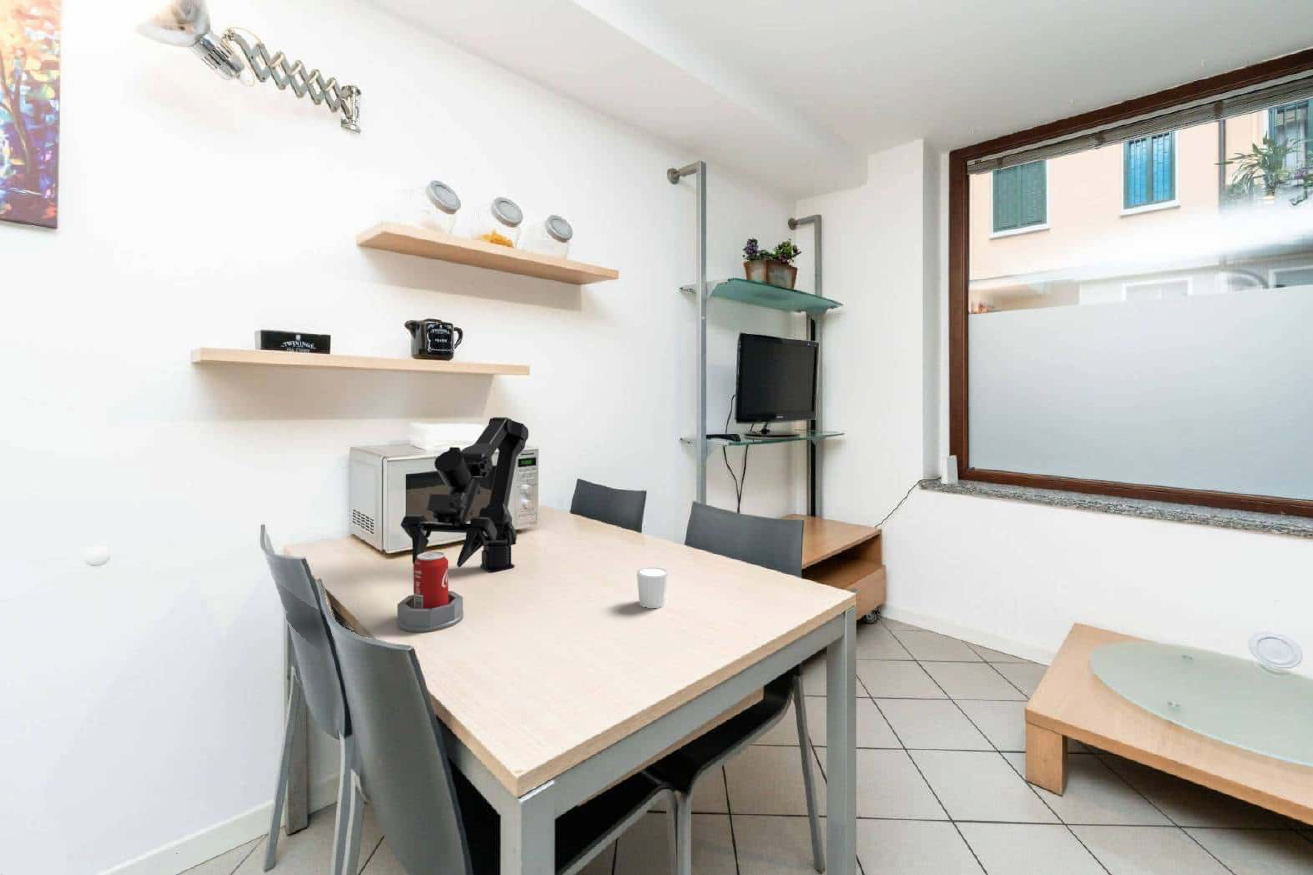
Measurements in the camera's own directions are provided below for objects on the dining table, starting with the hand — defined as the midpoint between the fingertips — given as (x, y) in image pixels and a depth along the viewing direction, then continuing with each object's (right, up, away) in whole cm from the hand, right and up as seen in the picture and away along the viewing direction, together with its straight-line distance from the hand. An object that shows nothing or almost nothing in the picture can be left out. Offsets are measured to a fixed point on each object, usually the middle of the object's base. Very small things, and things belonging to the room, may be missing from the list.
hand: (436, 565), depth 110 cm
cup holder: (0, -10, -2) cm, 10 cm away
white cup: (+43, -10, +8) cm, 45 cm away
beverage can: (0, -10, -2) cm, 10 cm away
